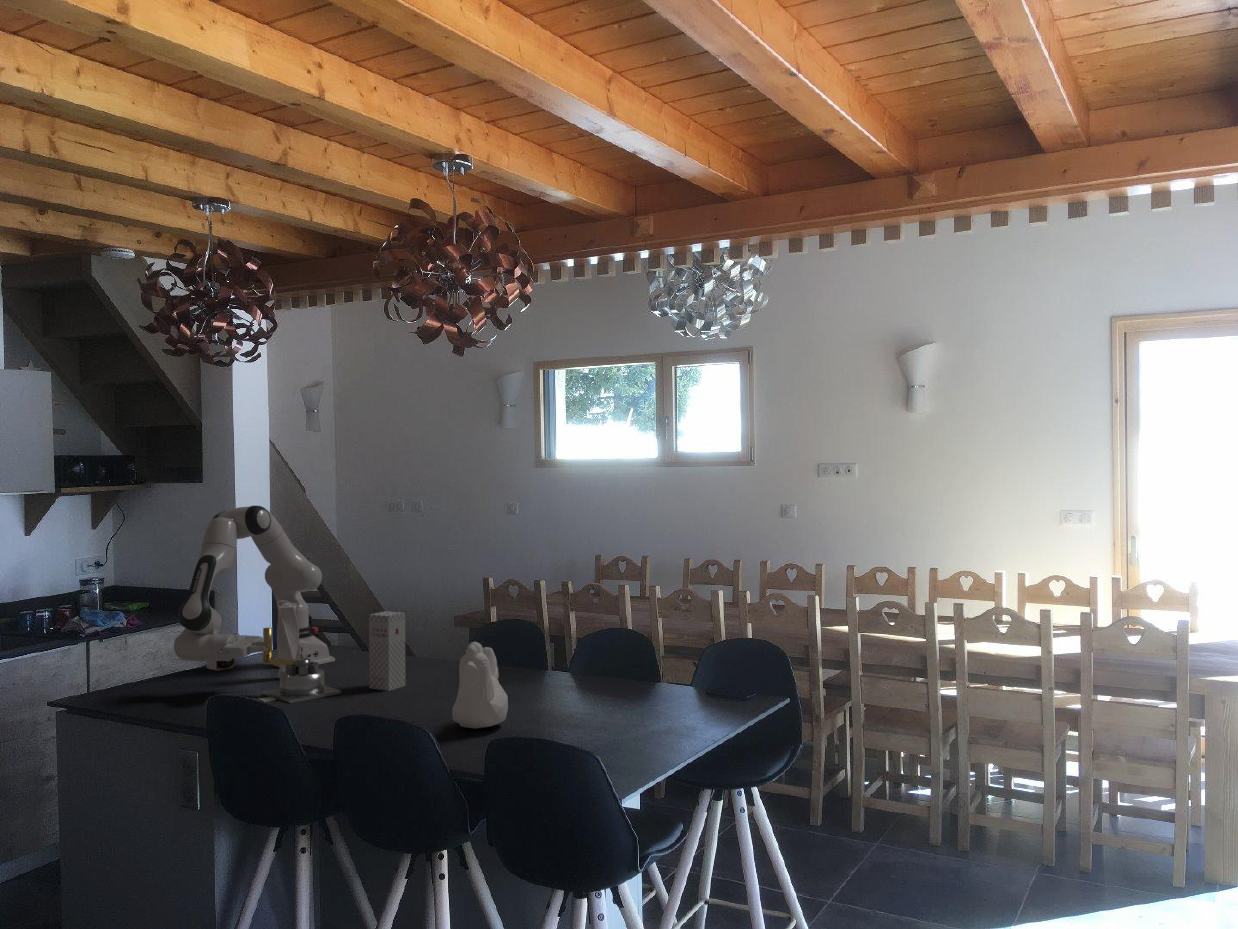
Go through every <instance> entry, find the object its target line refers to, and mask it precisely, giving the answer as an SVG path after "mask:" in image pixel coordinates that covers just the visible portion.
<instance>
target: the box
mask: <svg viewBox="0 0 1238 929" xmlns="http://www.w3.org/2000/svg"><path fill="white" fill-rule="evenodd" d="M368 640H369V641H368V642H369V643H368V649H369V650H368V651H369V653H368V654H369V655H368V656H369V657H368V659H369V660H368V662H369V665H368V666H369V667H368V668H369V672H368V673H369V674H368V676H369V685H368V686H369V689H373V690H381V691H388V692H390V691H394V690H396V689H399V688H402V687H406V613H405V612H399V611H389V610H387V611H386V610H385V611H379V612H375V613H370V614H368Z"/></svg>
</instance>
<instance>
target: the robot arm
mask: <svg viewBox="0 0 1238 929" xmlns="http://www.w3.org/2000/svg"><path fill="white" fill-rule="evenodd" d="M207 525H208V526H206V527H207V528H206V529H205V533H204V536H203V538H202V544H201V547H200V552H199V553H200V554H199V559H198V561H197V563H196V565H195V569H194V571H193V575H192V580H191V583H190V586H189V590H188V593H187V595H186V598H185V600H184V601H183V603H182V604H181V606H180V608H179V609H178V613H177V619H178V622H179V624H180V626H182V627H183V628H184V629H183V631H182V632H181V633H180V634H179V635H178V636H176V637H175V639H174V644H173V648H174V649H173V650H174V652H175V655H176V656H177V657H178V658H179V659H180V660H182V661H188V662H205V661H207V660H212V661H231V660H232V659H233V658H234V659H243V658H246V657H248V656H249V655H251V654H253V653H263V652H264V651H265V650H266V646H263V636H261V635H246V634H245V635H244V634H241V635H240V633H221V629H222V626H223V618H222V616H221V614H220V613H219V612H218V611H217V610H216V609H215V608H213V607H212V606H211V605H210V601H209V599H210V598H209V596H210V594H211V589H212V586H213V585H212V584H213V581H214V578H215V576H216V575H218V574H222V573H225V572H226V571H228V570H229V569H231V567H232V565H233V563H234V560H235V557H236V556H235V555H236V549H237V542H238V541H237V540H242V539H246V538H249V537H250V538H251V539H252V541H253V543H254V545H255V546H256V548H257V549H258V552H259V553H260V555H261V556H262V558H263V559H264V561H266V562H267V563H268V564H269V565H268V566H267V567H266V568H265V572H264V580H265V583H266V584H267V585H268V586H269V588H270V589H271V591H272V593H273V595H274V599H275V603H276V607H277V608H276V609H277V620H278V619H279V614H280V611H279V607H278V605H277V601H280V600H284V601H288V602H290V603H295V604H297V607H296V610H295V612H296V616H297V620H298V626H299V643H298V650H297V655H296V659H300V654H301V647H302V642H303V654H304V658H308V659H310V662H312V661H314V662H318V664H319V665H324V664H328V663H332V662H335V661H336V658H335V657H334V656H333V655H330V651H329V648H328V645H327V643H325V642H324V641H322V640H321V639H319V638H318V637H316V636H315V635H314V633H315V634H316V633H318V632H319V628H318V627H316V626H310V624H309V623H310V622H309V620H310V619H309V616H310V615H309V614H310V613H309V611H310V610H309V609H310V608H309V604H308V603H307V602H306V601H305V600H304V598H303V596H302V594H301V593H304V592H305V593H306V592H310V591H314V590H317V588H319V586H320V585H321V583H322V579H323V575H322V571H321V569H320V567H319V566H317V565H315V564H314V563H312V562H311V561H310V560H308V559H307V558H306V557H305V556H304V555H303V553H301V551H299V550H298V549H297V548H296V547H295V546H294V544H293V543H292V541H291V540H290V538H289V537H288V535H287V534H286V532H285V530H284V529H283V527H282V526H281V524H280V523H279V521H278V520H277V518H276V517H275V516H274V515H273V514H272V513H271V511H269V510H268V509H266V508H265V507H264V506H262V505H250V506H240V507H235V508H232V509H229V510H222V511H220V512H218V513H217V514H215V515H214V516H213V517H212V520H211V521H209V523H208V524H207ZM278 603H279V606H280V607H281V606H282V604H283V603H287V602H278ZM292 605H294V604H292ZM276 647H277V646H276ZM275 658H277V659H280V658H279V653H278V647H277V648H276V655H275ZM273 666H274V667H277V668H280V665H276V664H273Z"/></svg>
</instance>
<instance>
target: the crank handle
mask: <svg viewBox="0 0 1238 929" xmlns="http://www.w3.org/2000/svg"><path fill="white" fill-rule="evenodd" d="M262 633H263V634H262V637H263V646H266V650H265V651H264V652H262V654H263V655H262V656H263V657H262V664H263V665H274V664H276V665H285V668H286V674H288V675H294V674H296V673H297V674H299V675H308V672H310V673H316V672H318V671H319V669H320V668H319V667H320V666H319V665H320V664H318V662H314V661H312V662H310V659H308V658H300V659H277V658H276V657H274V658H273V627H264V628H262Z"/></svg>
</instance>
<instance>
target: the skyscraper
mask: <svg viewBox="0 0 1238 929" xmlns="http://www.w3.org/2000/svg"><path fill="white" fill-rule="evenodd" d="M278 602H287V603H283V604H282V606H281V607H280V606H279V603H278ZM292 604H294V605H292ZM277 605H278V607H279V611H280V614H279V619H278V618H277V626H276V644H277V646H276V647H278V653H279V658H280V659H296V655H297V650H298V643H299V626H298V620H297V616H296V612H295V610H296V607H297V604H295V603H290V602H288V601H284V600H280V601H277V603H276V606H277ZM300 658H304V654H303V642H302V647H301V654H300ZM284 671H286V668H285V665H280V667H278V672H277V676H276V679H278V680H280V673H282V672H284Z"/></svg>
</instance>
